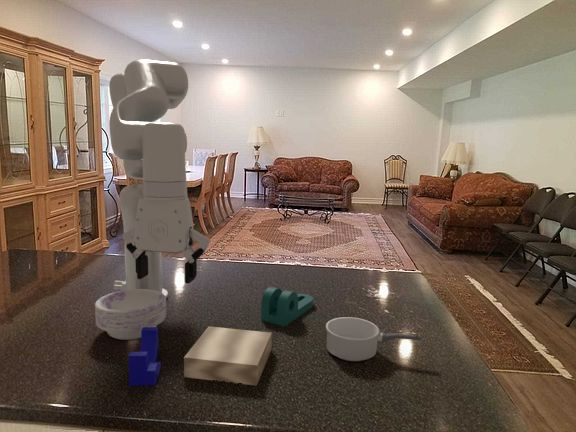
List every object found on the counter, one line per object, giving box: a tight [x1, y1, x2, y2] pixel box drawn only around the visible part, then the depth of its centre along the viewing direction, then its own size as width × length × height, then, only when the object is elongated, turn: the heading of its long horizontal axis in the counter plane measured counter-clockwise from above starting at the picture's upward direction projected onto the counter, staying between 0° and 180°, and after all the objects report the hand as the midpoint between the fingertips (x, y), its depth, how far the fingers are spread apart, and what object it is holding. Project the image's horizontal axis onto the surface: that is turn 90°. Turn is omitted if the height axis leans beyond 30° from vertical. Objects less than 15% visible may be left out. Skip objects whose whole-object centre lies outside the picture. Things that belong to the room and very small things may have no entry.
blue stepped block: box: [128, 326, 162, 387], centre depth 85 cm, size 12×4×6 cm, turn 6°
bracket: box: [260, 286, 314, 327], centre depth 115 cm, size 18×7×8 cm, turn 150°
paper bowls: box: [94, 289, 167, 341], centre depth 100 cm, size 15×15×8 cm
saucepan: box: [325, 316, 423, 362], centre depth 94 cm, size 12×20×6 cm, turn 77°
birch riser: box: [183, 325, 273, 386], centre depth 88 cm, size 14×14×4 cm
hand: (166, 279), depth 84 cm, fingers open, 9 cm apart
